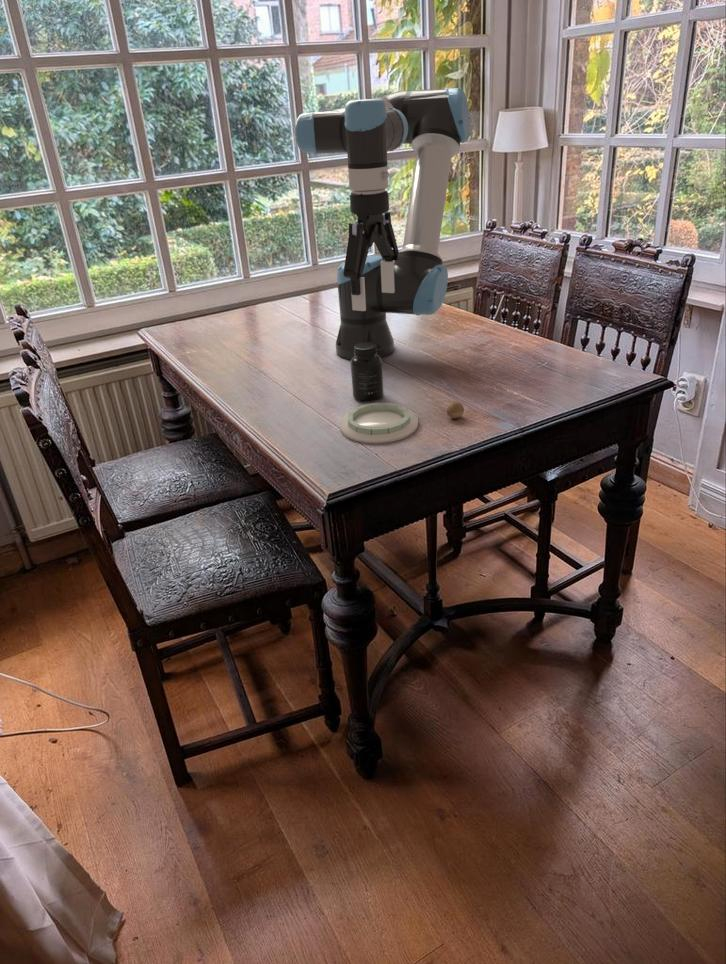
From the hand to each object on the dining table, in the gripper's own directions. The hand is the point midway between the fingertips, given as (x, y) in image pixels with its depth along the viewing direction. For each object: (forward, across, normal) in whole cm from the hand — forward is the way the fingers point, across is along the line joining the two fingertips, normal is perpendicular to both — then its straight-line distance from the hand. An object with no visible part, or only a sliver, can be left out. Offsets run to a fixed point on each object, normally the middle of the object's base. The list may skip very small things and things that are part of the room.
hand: (374, 301), depth 142 cm
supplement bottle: (+21, -2, +2) cm, 21 cm away
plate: (+21, -14, -7) cm, 26 cm away
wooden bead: (+21, -5, -20) cm, 30 cm away
